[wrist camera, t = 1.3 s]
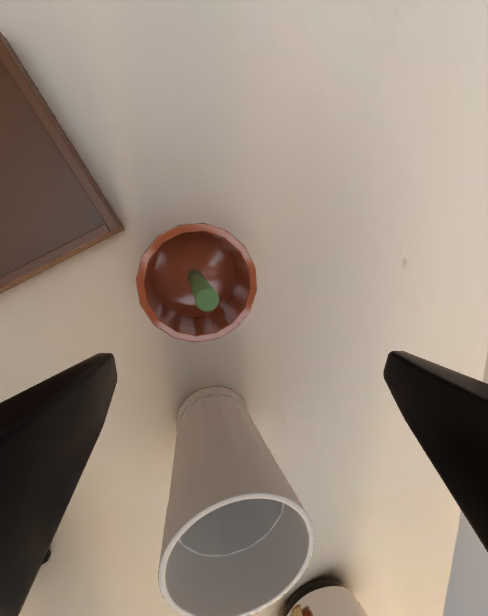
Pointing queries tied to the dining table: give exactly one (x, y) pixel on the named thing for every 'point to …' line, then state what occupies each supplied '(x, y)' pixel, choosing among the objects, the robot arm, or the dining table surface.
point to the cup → (228, 515)
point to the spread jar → (324, 601)
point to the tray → (41, 183)
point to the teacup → (176, 288)
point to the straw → (202, 291)
